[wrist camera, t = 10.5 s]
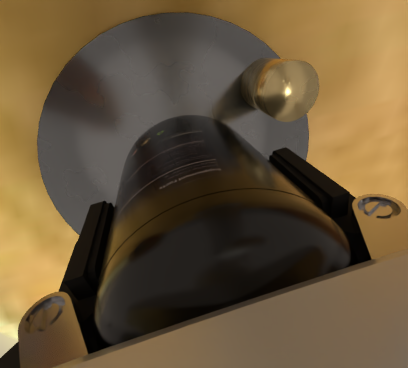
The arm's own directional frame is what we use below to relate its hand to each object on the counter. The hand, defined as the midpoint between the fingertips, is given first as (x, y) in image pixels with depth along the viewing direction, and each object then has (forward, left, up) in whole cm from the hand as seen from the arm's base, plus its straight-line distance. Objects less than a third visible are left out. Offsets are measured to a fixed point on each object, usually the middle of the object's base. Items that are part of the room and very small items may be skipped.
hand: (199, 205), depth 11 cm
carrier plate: (0, 0, -5) cm, 5 cm away
